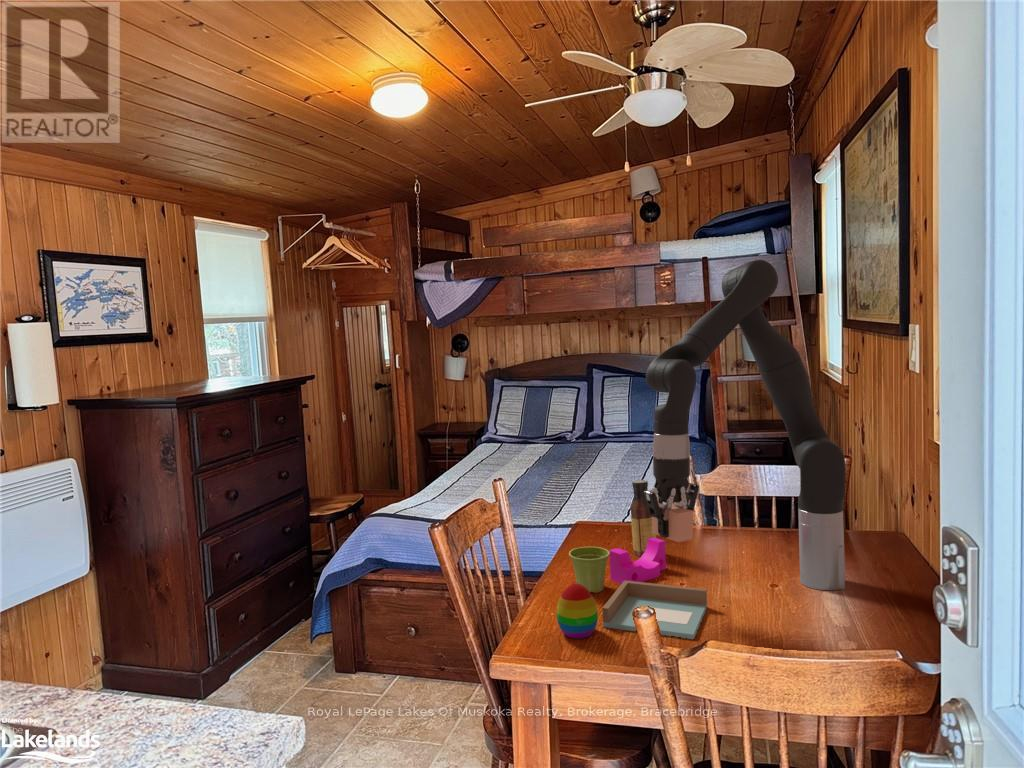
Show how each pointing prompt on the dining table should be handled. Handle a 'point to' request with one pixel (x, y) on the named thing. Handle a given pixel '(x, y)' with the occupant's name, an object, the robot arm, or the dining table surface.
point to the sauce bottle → (640, 518)
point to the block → (677, 524)
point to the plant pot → (590, 567)
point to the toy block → (638, 563)
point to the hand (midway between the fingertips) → (672, 534)
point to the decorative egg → (577, 612)
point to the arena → (657, 607)
